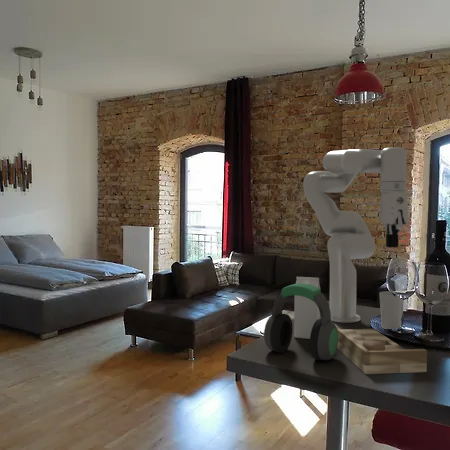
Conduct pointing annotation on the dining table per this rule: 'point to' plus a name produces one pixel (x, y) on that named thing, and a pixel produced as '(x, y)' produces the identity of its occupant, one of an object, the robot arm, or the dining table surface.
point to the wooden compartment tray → (379, 353)
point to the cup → (390, 310)
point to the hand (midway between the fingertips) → (391, 247)
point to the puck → (373, 345)
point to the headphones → (282, 326)
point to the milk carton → (305, 310)
